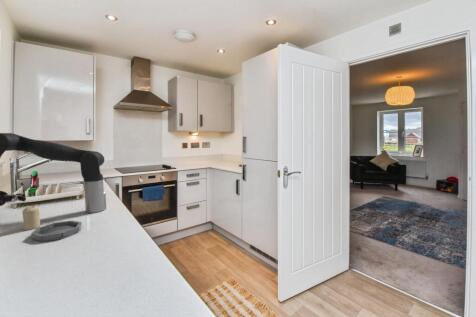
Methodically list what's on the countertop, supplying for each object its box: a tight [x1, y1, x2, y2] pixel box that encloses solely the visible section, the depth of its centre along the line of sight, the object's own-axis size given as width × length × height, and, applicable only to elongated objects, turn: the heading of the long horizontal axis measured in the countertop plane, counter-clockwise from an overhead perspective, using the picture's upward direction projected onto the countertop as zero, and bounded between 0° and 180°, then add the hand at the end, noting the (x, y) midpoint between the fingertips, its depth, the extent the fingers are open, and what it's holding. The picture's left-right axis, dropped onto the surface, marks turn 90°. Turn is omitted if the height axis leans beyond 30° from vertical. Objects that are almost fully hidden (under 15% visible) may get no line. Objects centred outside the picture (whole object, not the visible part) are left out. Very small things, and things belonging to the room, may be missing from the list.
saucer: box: [30, 220, 83, 242], centre depth 100 cm, size 16×16×2 cm
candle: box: [22, 205, 41, 231], centre depth 106 cm, size 6×6×10 cm
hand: (13, 201), depth 109 cm, fingers open, 8 cm apart
